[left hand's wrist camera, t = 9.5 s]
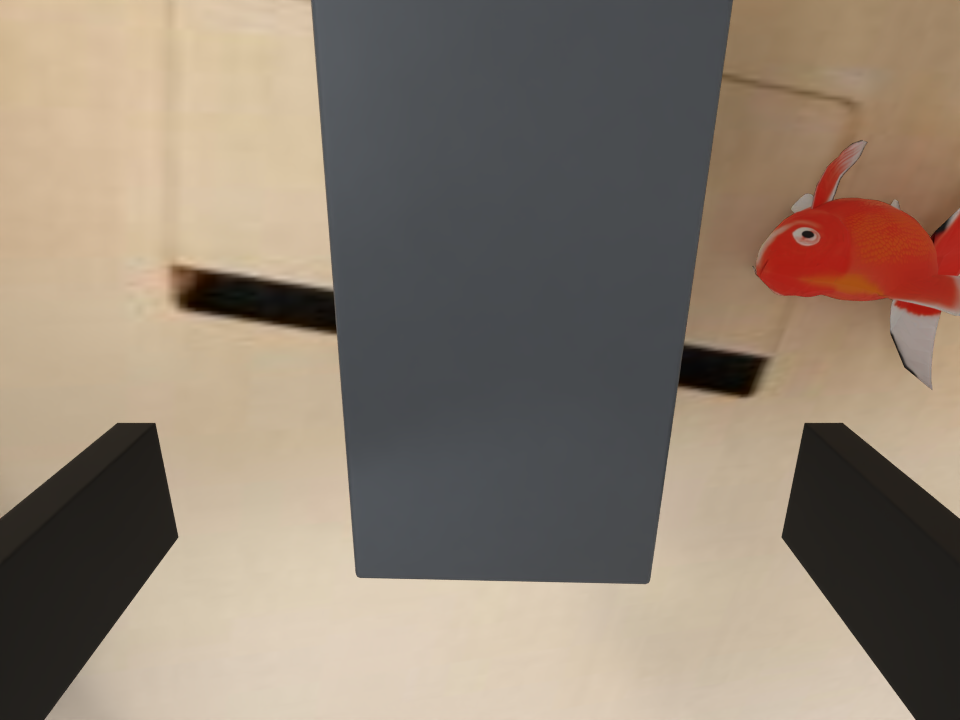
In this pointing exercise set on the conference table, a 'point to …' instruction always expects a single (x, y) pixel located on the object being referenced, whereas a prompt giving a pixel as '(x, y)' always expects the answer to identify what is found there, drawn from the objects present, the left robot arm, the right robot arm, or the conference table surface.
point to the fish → (868, 261)
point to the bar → (513, 273)
